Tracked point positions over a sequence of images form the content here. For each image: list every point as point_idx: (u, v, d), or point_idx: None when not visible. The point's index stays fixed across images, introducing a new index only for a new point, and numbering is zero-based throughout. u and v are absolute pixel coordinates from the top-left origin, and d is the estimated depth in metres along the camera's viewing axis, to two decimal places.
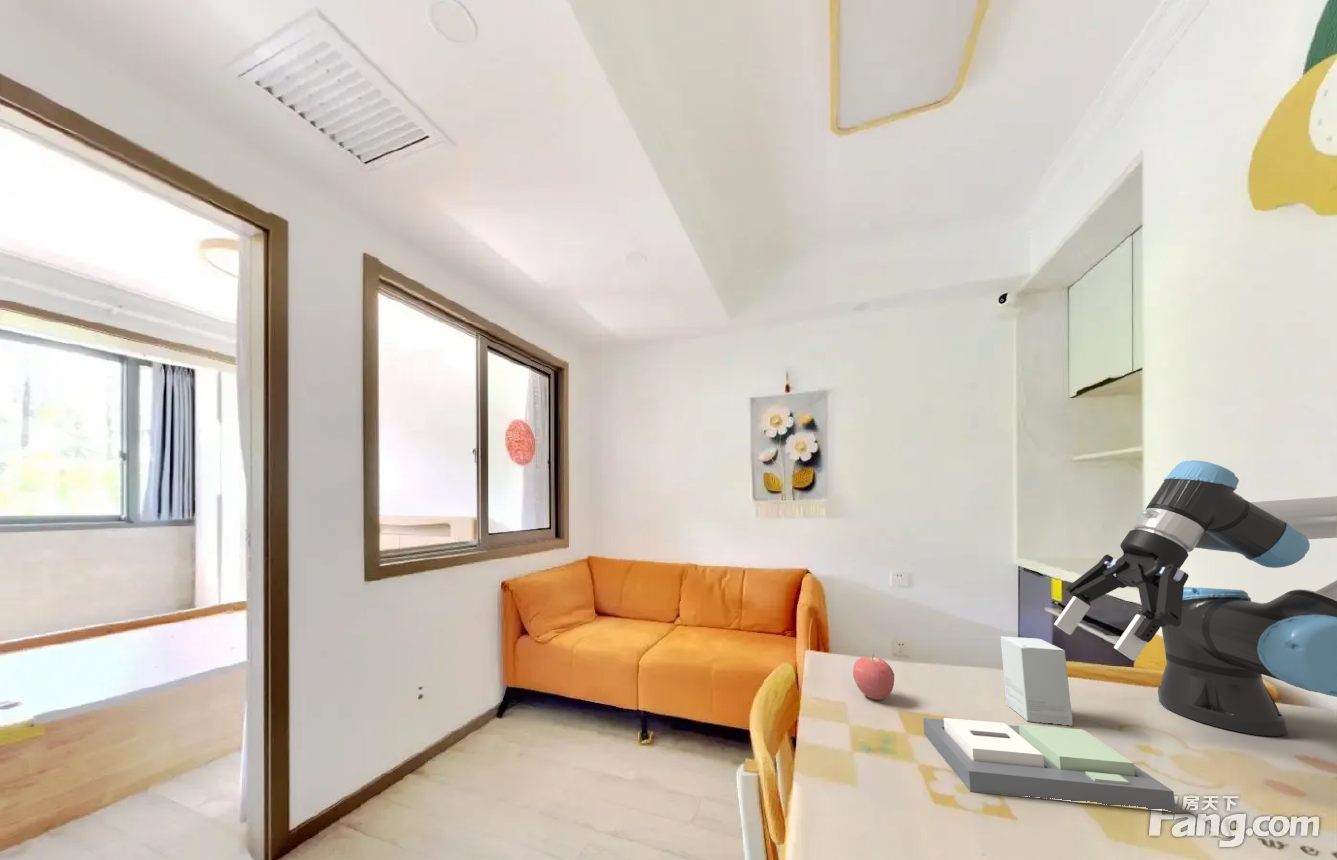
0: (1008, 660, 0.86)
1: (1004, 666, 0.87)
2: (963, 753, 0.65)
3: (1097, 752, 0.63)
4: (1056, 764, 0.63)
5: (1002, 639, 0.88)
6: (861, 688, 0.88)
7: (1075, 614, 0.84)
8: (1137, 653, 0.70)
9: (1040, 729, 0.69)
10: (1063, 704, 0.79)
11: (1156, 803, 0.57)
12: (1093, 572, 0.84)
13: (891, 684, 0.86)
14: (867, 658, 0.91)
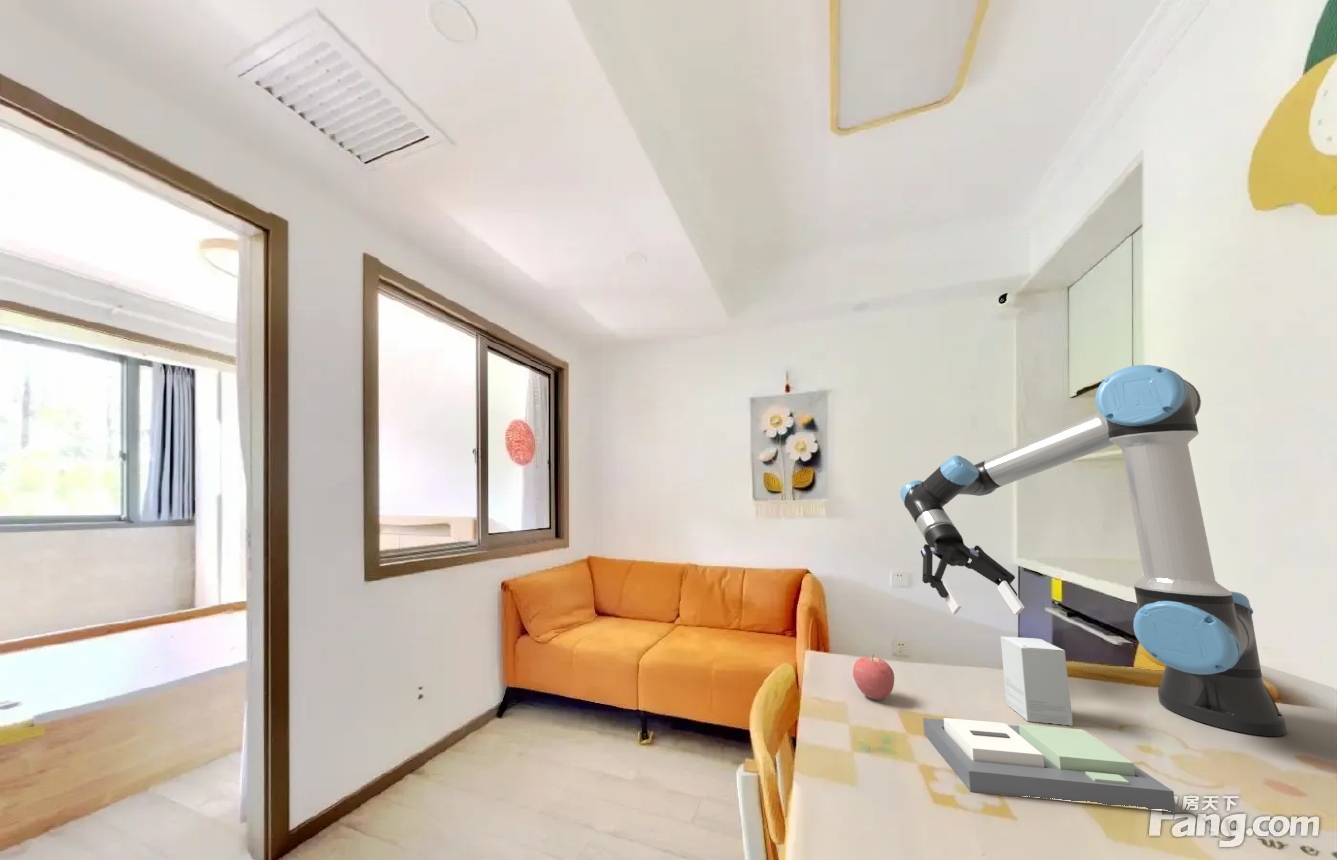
0: (1008, 660, 0.86)
1: (1004, 666, 0.87)
2: (963, 753, 0.65)
3: (1097, 752, 0.63)
4: (1056, 764, 0.63)
5: (1002, 639, 0.88)
6: (861, 688, 0.88)
7: (1007, 595, 0.99)
8: (954, 602, 0.96)
9: (1040, 729, 0.69)
10: (1063, 704, 0.79)
11: (1156, 803, 0.57)
12: None
13: (891, 684, 0.86)
14: (867, 658, 0.91)
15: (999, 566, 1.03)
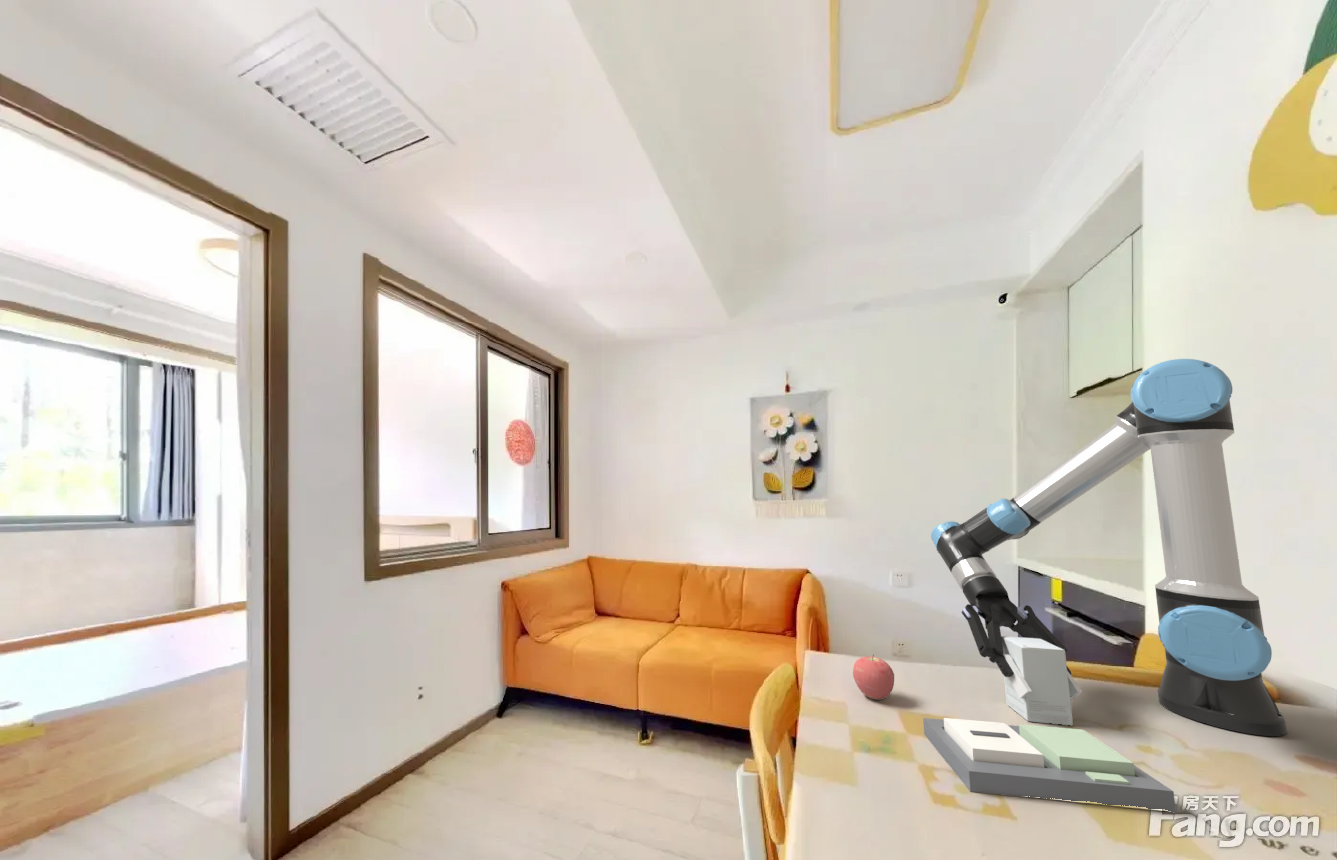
0: None
1: None
2: (963, 753, 0.65)
3: (1097, 752, 0.63)
4: (1056, 764, 0.63)
5: (1002, 639, 0.88)
6: (861, 688, 0.88)
7: None
8: (1022, 684, 0.81)
9: (1040, 729, 0.69)
10: (1063, 704, 0.79)
11: (1156, 803, 0.57)
12: None
13: (891, 684, 0.86)
14: (867, 658, 0.91)
15: (1049, 634, 0.88)
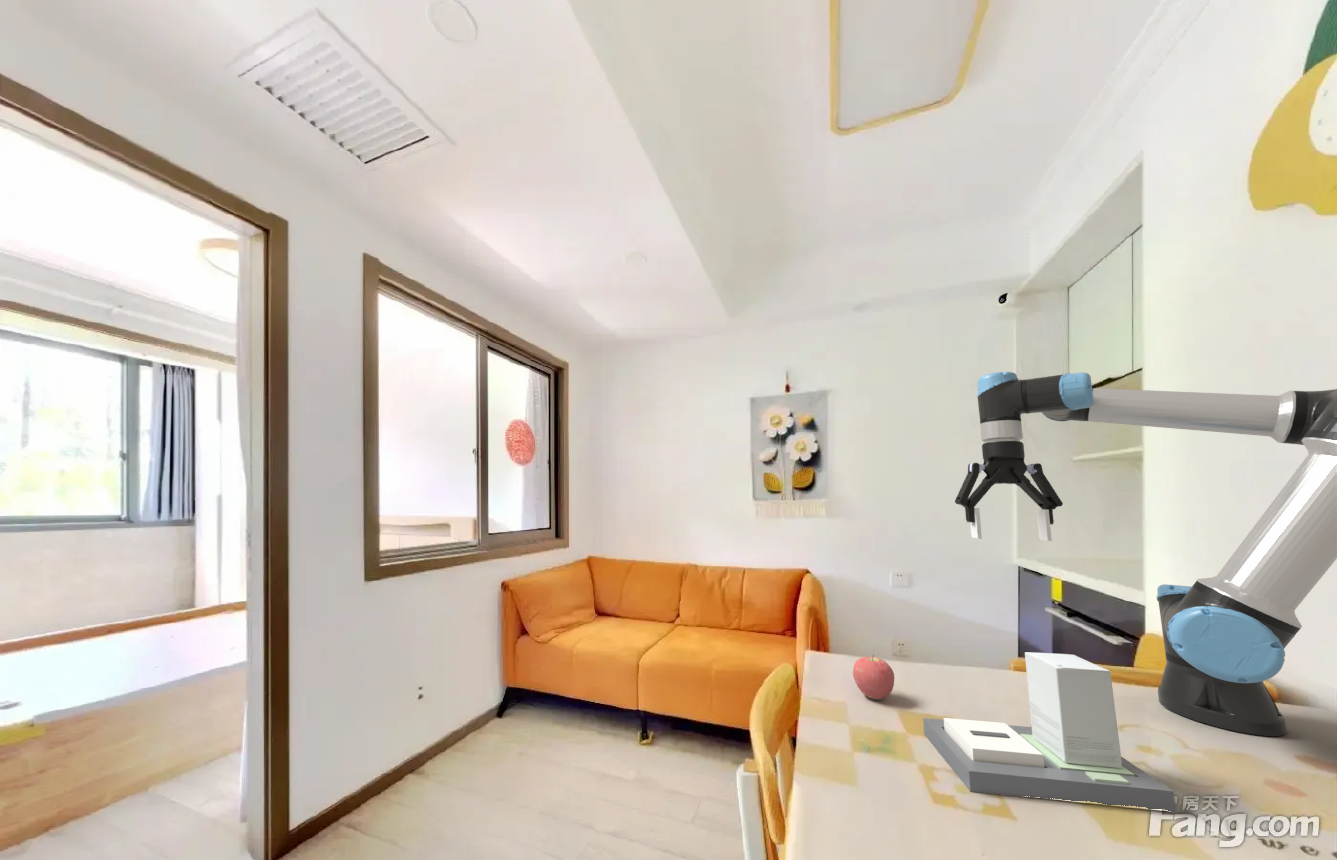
0: (1036, 683, 0.69)
1: (1030, 689, 0.70)
2: (963, 753, 0.65)
3: None
4: None
5: (1027, 656, 0.71)
6: (861, 688, 0.88)
7: (1042, 522, 0.97)
8: (976, 532, 0.98)
9: None
10: (1110, 740, 0.62)
11: (1156, 803, 0.57)
12: None
13: (891, 684, 0.86)
14: (867, 658, 0.90)
15: (1051, 491, 0.97)
